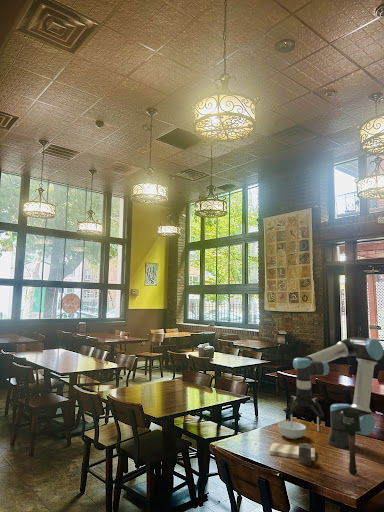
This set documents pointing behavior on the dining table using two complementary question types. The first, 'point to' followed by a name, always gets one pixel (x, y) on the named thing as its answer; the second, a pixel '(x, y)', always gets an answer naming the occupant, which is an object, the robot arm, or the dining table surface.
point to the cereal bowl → (291, 429)
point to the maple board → (288, 451)
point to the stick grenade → (351, 434)
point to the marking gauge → (305, 454)
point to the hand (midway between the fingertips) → (304, 429)
